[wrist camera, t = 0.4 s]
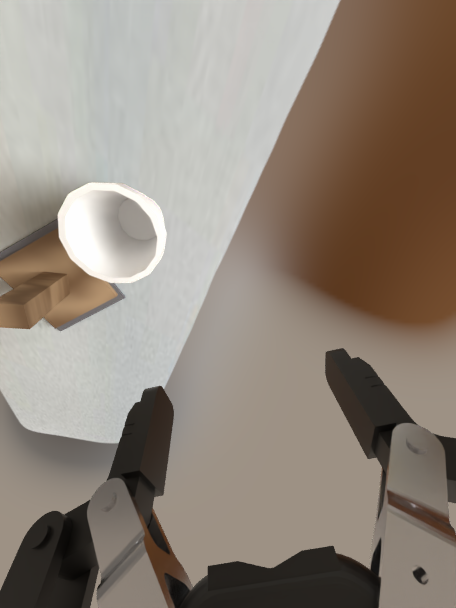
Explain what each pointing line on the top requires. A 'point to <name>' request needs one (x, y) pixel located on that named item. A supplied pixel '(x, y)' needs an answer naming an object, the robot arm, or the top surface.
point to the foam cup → (112, 231)
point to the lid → (47, 286)
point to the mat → (36, 236)
